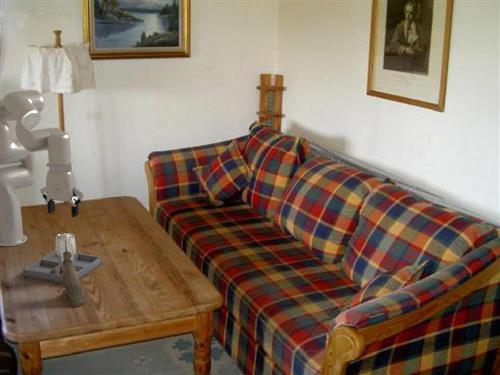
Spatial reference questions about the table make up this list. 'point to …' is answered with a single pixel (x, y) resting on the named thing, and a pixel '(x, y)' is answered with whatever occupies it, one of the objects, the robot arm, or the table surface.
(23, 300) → the table surface
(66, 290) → the brown carved statuette
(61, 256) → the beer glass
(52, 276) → the gray compartment tray
